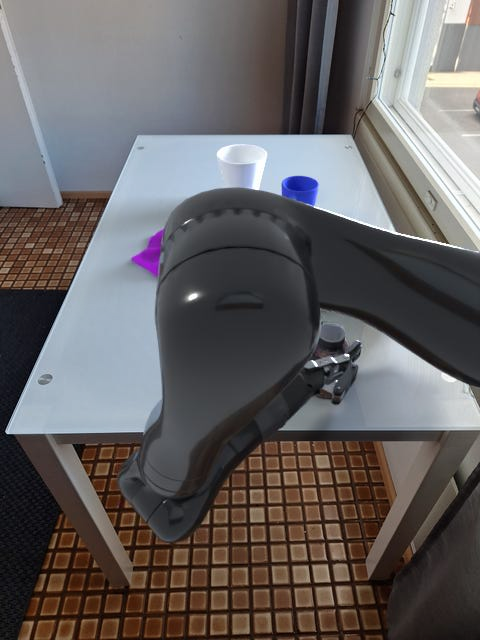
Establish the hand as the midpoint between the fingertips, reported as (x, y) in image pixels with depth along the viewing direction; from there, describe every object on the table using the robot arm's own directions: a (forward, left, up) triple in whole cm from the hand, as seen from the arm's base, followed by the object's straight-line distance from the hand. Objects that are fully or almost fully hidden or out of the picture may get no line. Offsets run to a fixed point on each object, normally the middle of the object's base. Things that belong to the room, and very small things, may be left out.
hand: (339, 334), depth 69 cm
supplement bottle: (0, +2, -9) cm, 10 cm away
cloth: (+40, -16, -9) cm, 44 cm away
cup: (+43, -42, -9) cm, 61 cm away
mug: (+26, -38, -9) cm, 47 cm away
